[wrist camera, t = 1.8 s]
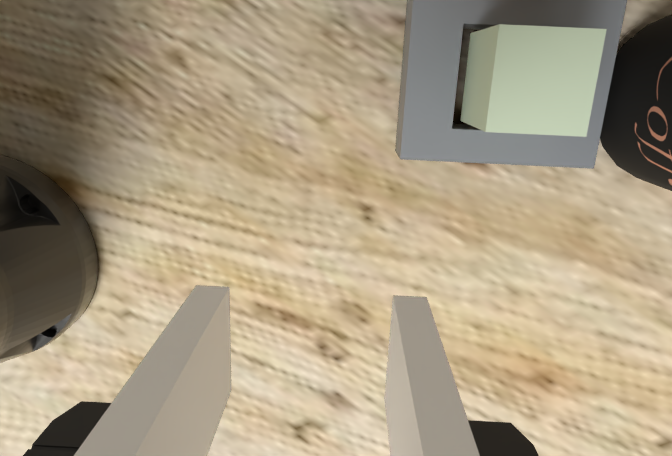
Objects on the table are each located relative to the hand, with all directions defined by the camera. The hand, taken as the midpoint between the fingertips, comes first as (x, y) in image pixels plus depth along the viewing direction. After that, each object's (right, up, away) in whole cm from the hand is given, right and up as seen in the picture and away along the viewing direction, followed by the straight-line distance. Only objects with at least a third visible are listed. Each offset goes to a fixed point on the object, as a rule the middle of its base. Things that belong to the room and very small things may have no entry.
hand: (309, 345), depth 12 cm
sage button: (+11, +12, +19) cm, 25 cm away
